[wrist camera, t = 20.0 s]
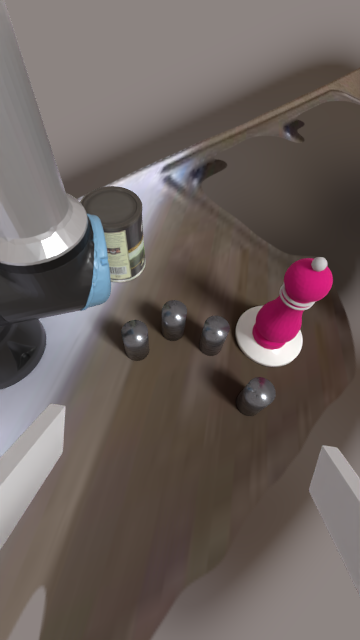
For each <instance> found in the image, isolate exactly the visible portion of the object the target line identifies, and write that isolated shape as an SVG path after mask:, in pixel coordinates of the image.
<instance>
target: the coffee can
mask: <svg viewBox="0 0 360 640" xmlns="http://www.w3.org/2000/svg"><path fill="white" fill-rule="evenodd" d="M80 203H81V204H82V206H83V207H84V209H85V211H86V214H90V215H96V216H98V217H99V219H100V221H101V223H102V227H103V230H104V235H105V240H106V245H107V254H108V262H109V268H110V278H111V282H127V281H130V280H133V279H134V278H136V277H138V276H139V275H140V274H141V273H142V271H143V270H144V268H145V254H144V240H143V224H142V202H141V200H140V198H139V197H138V196H137V195H136V194H135V193H134V192H132V191H130V190H128V189H125V188H122V187H114V186H109V187H102V188H98V189H95V190H93V191H91V192H89V193H88V194H86V195H85V196H84V197H83V198H82V200H81V201H80Z"/></svg>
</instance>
